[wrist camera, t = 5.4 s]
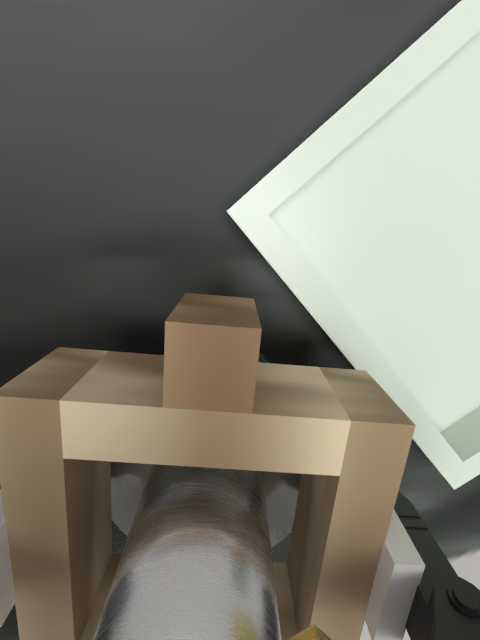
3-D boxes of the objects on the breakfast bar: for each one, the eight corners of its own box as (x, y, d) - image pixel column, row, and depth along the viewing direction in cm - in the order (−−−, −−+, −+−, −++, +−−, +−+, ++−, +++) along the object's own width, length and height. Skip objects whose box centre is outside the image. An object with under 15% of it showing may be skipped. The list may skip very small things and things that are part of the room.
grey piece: (100, 406, 16) (-201, 815, 5) (221, 304, 15) (182, 548, 4) (207, 504, 18) (163, 975, 7) (324, 420, 16) (512, 829, 5)
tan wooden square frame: (72, 582, 13) (25, 686, 10) (54, 281, 10) (-22, 306, 7) (319, 594, 13) (344, 698, 10) (378, 309, 10) (437, 343, 7)
